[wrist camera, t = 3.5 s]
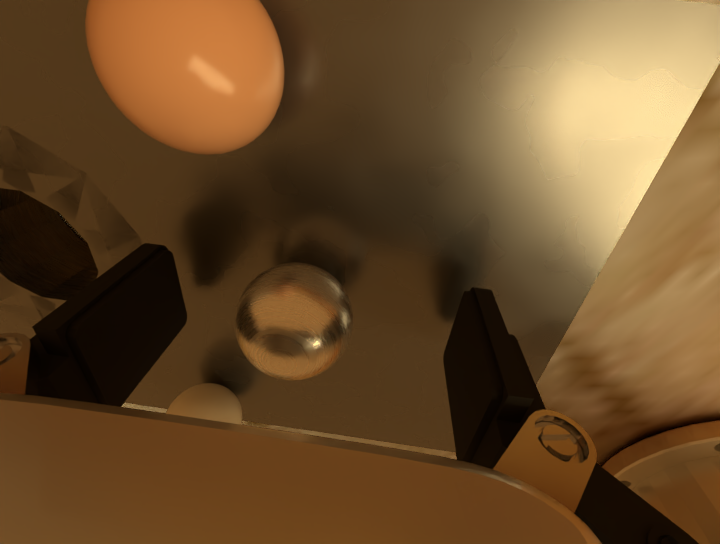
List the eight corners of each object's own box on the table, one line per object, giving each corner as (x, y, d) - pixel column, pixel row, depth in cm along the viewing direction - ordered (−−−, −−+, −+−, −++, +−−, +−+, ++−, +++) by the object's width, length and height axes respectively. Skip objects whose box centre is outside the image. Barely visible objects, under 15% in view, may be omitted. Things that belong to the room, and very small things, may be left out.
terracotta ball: (302, -24, 7) (237, -75, 4) (301, 144, 9) (256, 186, 6) (145, -41, 8) (-20, -102, 5) (176, 128, 9) (74, 163, 6)
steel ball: (363, 249, 11) (350, 322, 8) (354, 331, 13) (340, 414, 10) (255, 235, 11) (202, 302, 8) (262, 318, 13) (221, 396, 10)
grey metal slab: (647, 21, 10) (751, 7, 7) (479, 395, 19) (493, 458, 16) (-197, -70, 11) (-422, -116, 8) (33, 331, 20) (-30, 379, 17)
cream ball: (249, 373, 15) (218, 440, 12) (254, 415, 16) (228, 481, 14) (181, 363, 15) (136, 427, 12) (193, 406, 16) (155, 470, 14)
